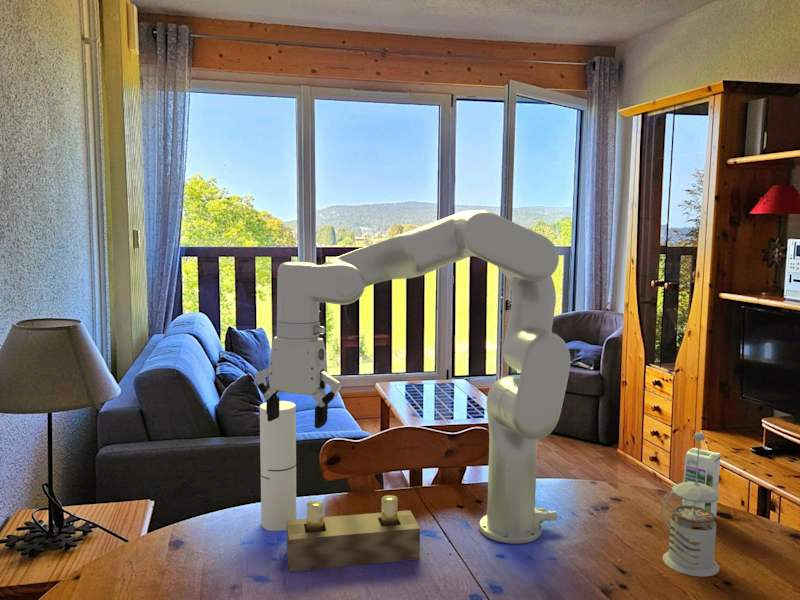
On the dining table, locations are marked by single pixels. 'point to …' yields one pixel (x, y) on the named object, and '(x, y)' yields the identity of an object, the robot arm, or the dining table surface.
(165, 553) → the dining table surface
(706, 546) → the french press
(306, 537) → the tan peg holder block
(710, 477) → the syrup box
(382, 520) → the inner brass pin
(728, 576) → the dining table surface
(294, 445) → the cylindrical container
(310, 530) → the outer brass pin
